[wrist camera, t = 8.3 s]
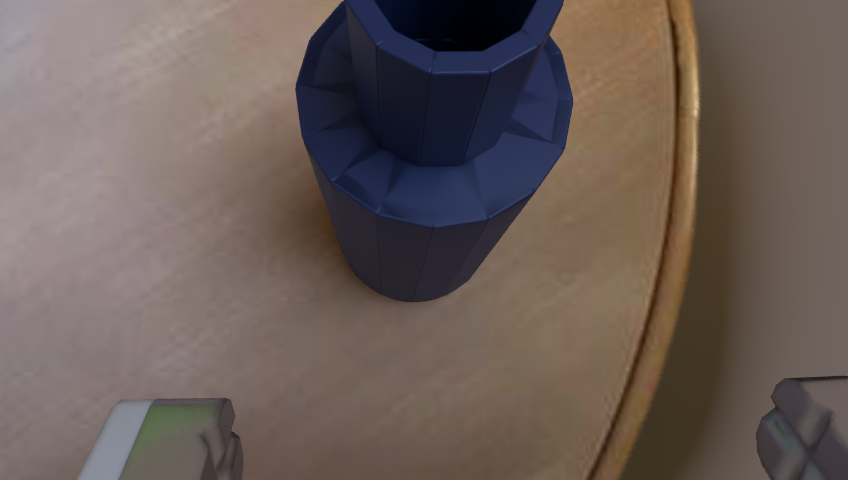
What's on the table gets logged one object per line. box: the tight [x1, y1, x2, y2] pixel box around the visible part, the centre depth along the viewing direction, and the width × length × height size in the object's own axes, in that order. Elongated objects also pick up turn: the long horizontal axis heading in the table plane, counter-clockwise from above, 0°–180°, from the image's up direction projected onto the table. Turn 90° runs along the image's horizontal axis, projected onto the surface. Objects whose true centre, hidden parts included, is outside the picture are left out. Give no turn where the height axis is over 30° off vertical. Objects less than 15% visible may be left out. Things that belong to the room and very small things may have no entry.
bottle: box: [295, 0, 573, 302], centre depth 17 cm, size 6×6×16 cm
